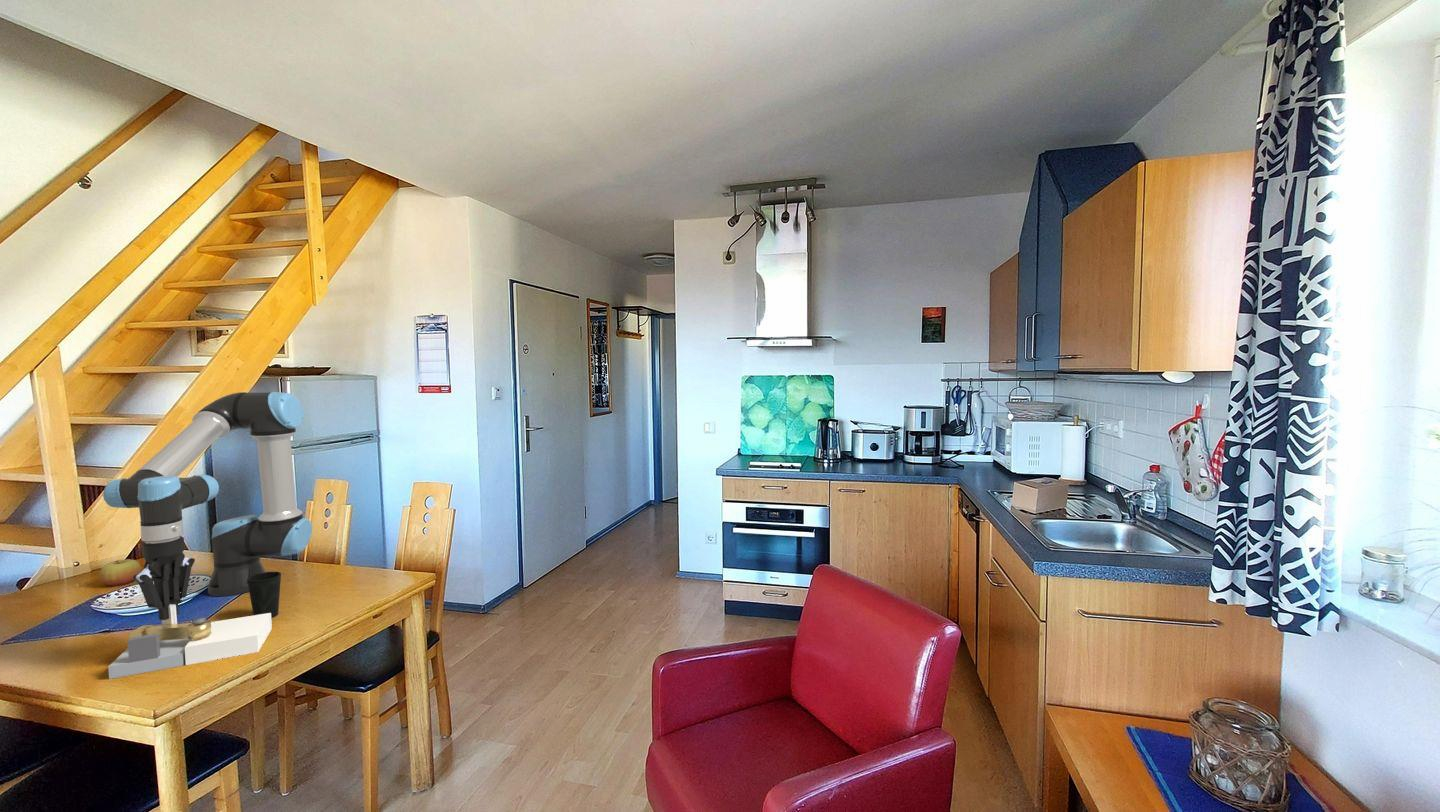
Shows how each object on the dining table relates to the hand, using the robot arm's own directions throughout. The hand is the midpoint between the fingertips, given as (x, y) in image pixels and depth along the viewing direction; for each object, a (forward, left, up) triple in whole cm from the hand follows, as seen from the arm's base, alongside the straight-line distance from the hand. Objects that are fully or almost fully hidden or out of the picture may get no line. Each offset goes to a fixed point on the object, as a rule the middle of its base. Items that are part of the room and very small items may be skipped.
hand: (170, 630), depth 144 cm
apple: (-71, -33, -6) cm, 79 cm away
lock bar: (+3, +1, -1) cm, 3 cm away
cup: (-16, +16, -6) cm, 24 cm away
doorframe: (+2, +6, -6) cm, 8 cm away
